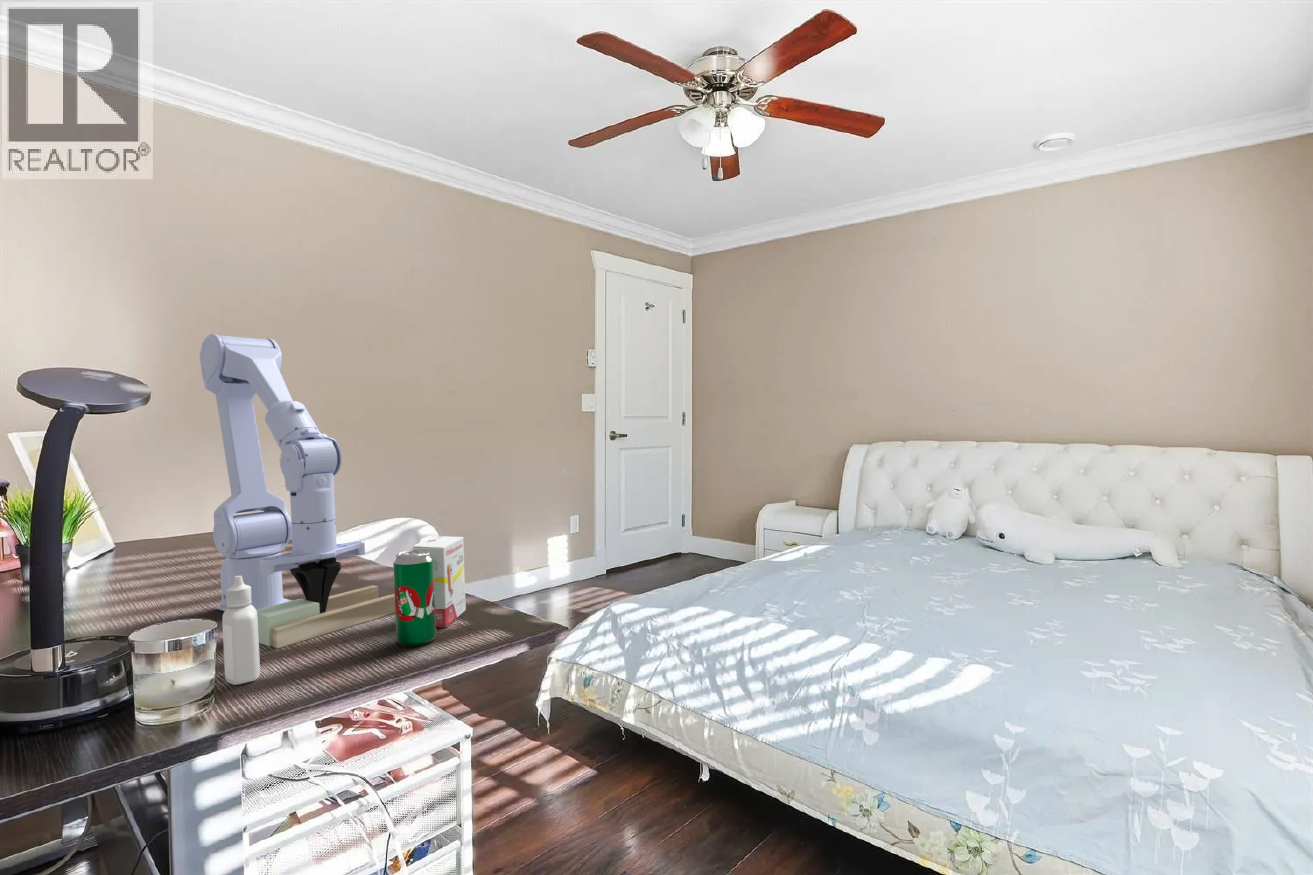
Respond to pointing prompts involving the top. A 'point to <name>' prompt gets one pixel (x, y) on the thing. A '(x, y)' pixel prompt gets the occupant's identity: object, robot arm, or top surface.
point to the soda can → (414, 598)
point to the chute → (336, 616)
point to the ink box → (447, 576)
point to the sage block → (283, 616)
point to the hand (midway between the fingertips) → (317, 612)
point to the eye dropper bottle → (240, 635)
